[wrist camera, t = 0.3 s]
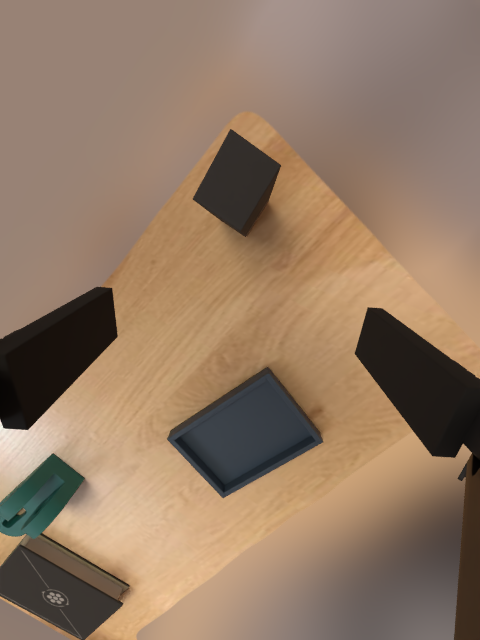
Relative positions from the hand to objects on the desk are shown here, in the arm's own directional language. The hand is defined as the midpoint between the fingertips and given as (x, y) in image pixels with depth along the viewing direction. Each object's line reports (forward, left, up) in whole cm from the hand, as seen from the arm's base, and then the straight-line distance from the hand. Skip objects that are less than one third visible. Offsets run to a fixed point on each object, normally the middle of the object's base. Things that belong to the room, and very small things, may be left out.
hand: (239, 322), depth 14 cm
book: (+64, +25, -22) cm, 72 cm away
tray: (+15, +19, -22) cm, 32 cm away
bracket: (+52, +8, -22) cm, 57 cm away
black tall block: (-4, -7, -22) cm, 23 cm away
